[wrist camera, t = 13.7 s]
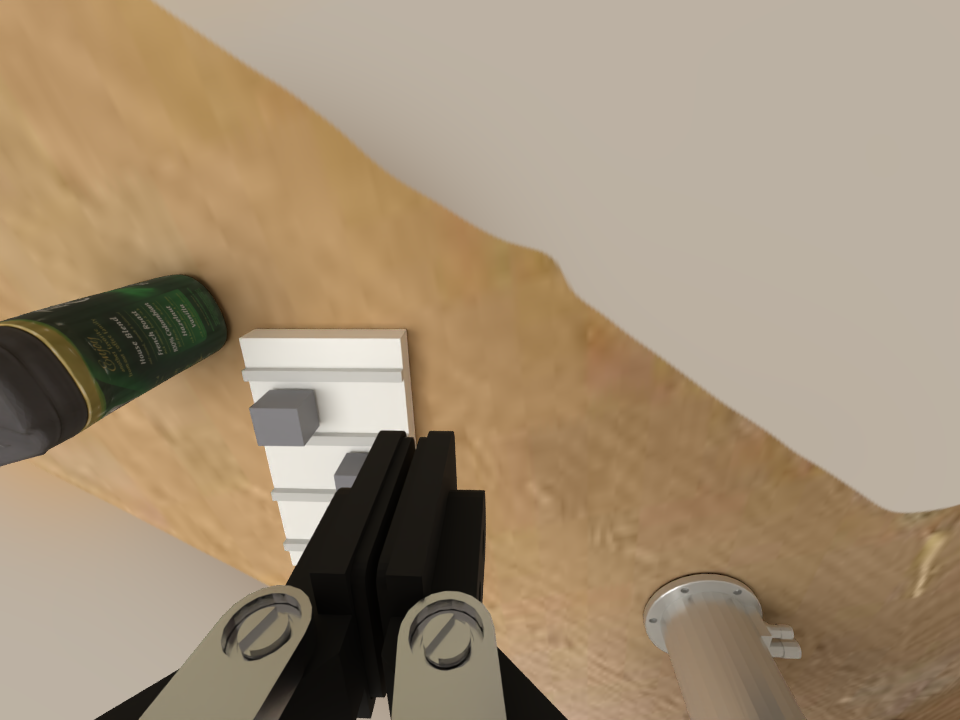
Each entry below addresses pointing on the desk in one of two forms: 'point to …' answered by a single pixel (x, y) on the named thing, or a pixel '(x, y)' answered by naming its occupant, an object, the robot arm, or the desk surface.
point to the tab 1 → (285, 417)
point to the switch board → (328, 408)
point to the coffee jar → (97, 358)
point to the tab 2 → (349, 469)
